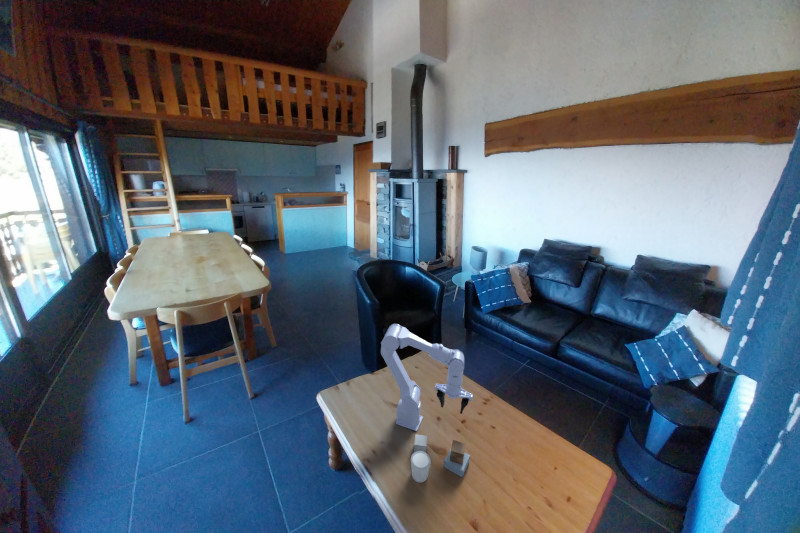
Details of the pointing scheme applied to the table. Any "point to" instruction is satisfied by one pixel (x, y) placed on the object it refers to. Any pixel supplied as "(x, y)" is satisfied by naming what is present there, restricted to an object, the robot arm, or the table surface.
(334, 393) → the table surface
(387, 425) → the table surface
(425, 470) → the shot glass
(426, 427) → the table surface
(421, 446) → the grey cube
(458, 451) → the walnut cube
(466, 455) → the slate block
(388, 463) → the table surface
